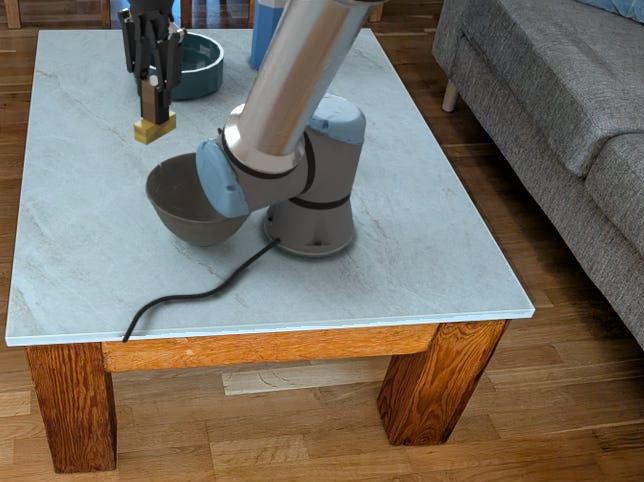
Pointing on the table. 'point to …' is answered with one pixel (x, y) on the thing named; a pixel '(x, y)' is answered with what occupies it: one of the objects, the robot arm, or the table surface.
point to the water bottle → (264, 27)
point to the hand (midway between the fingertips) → (155, 118)
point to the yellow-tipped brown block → (151, 115)
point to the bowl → (187, 203)
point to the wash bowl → (197, 67)
